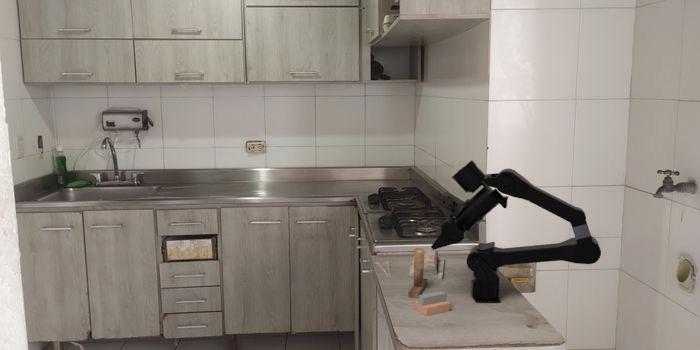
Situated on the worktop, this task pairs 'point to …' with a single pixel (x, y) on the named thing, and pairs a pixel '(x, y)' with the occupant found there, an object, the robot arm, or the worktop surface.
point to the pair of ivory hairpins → (382, 268)
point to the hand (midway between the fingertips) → (435, 243)
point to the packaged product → (430, 265)
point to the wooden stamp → (418, 274)
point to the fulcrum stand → (432, 303)
